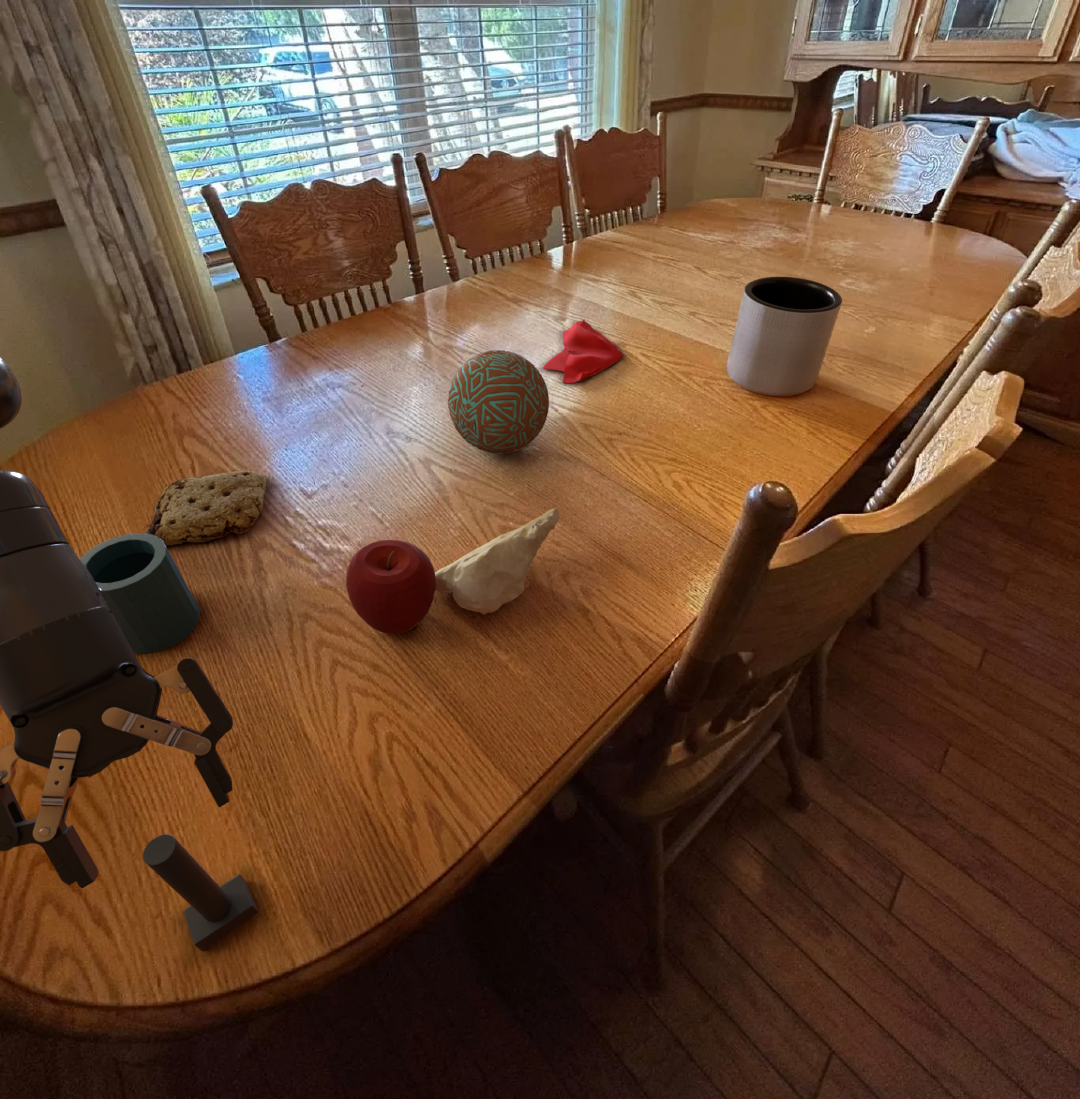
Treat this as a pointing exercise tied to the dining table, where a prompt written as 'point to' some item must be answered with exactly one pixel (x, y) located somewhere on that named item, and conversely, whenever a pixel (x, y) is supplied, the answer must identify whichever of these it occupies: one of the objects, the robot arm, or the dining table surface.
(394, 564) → the apple
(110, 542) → the crock
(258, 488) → the pastry
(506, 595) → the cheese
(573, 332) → the cloth
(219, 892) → the t-shaped mushroom stamp
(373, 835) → the dining table surface
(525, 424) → the decorative sphere
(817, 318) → the planter
